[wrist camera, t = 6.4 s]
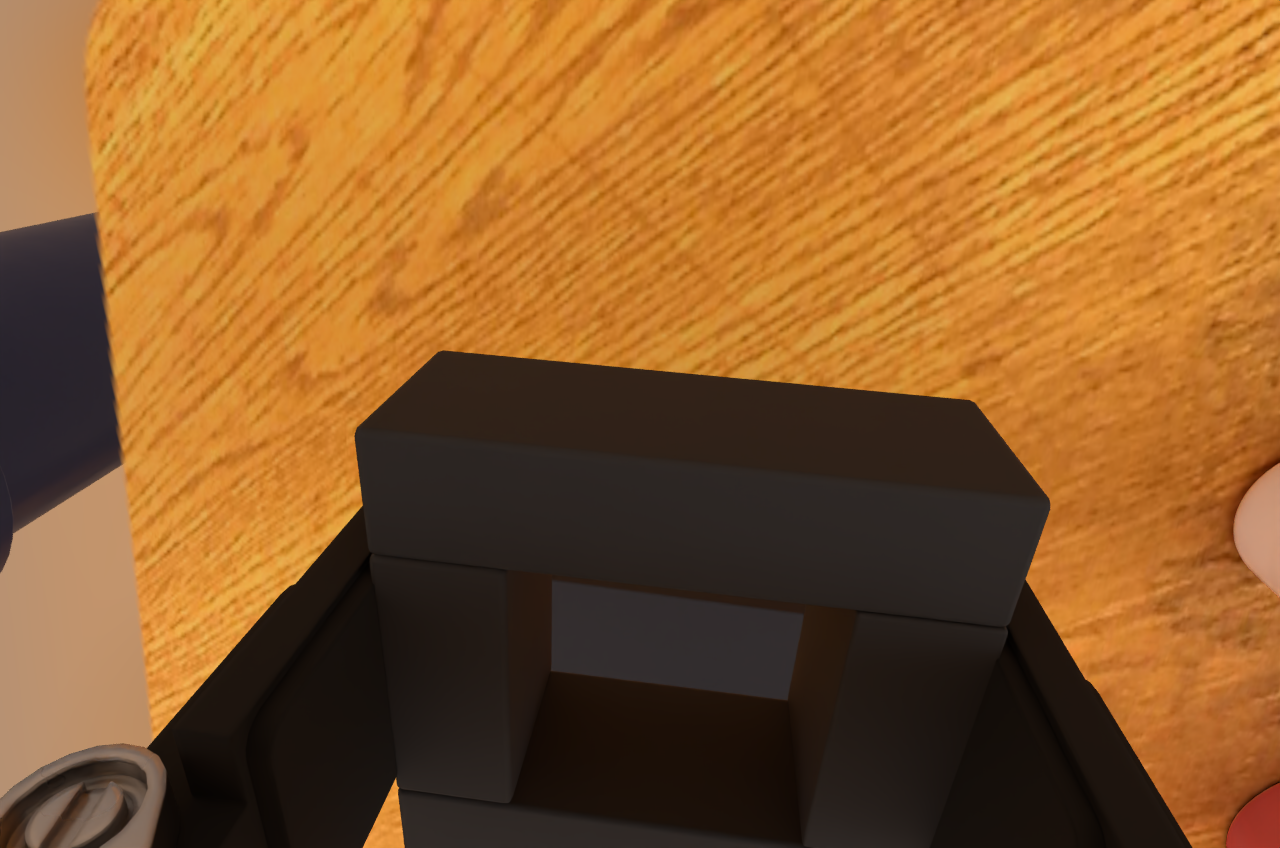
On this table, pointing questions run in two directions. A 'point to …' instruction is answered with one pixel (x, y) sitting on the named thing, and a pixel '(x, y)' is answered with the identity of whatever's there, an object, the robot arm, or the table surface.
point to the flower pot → (1257, 822)
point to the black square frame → (693, 561)
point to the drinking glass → (1261, 529)
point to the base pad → (674, 636)
